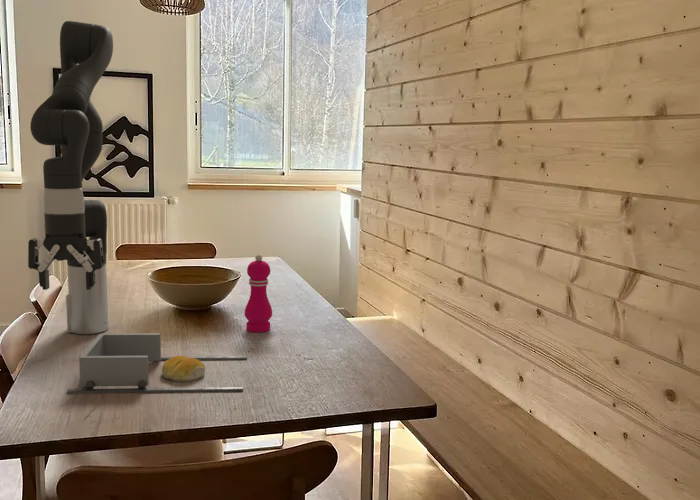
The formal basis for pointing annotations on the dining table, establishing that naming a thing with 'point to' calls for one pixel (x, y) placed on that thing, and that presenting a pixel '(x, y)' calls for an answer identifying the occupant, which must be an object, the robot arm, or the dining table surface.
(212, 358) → the track
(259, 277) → the pepper mill
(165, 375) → the bread roll
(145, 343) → the frame
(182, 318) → the dining table surface
